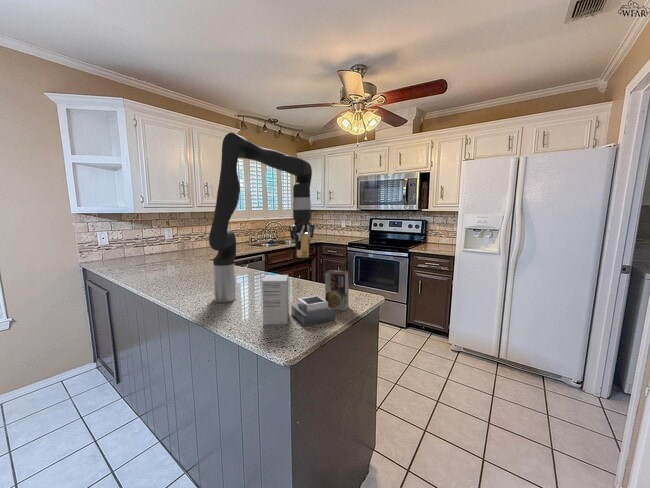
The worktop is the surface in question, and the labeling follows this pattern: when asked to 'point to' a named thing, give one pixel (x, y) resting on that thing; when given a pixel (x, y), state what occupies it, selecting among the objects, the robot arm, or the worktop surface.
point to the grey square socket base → (312, 311)
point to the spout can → (303, 246)
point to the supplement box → (275, 299)
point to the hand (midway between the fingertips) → (302, 248)
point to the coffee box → (337, 289)
